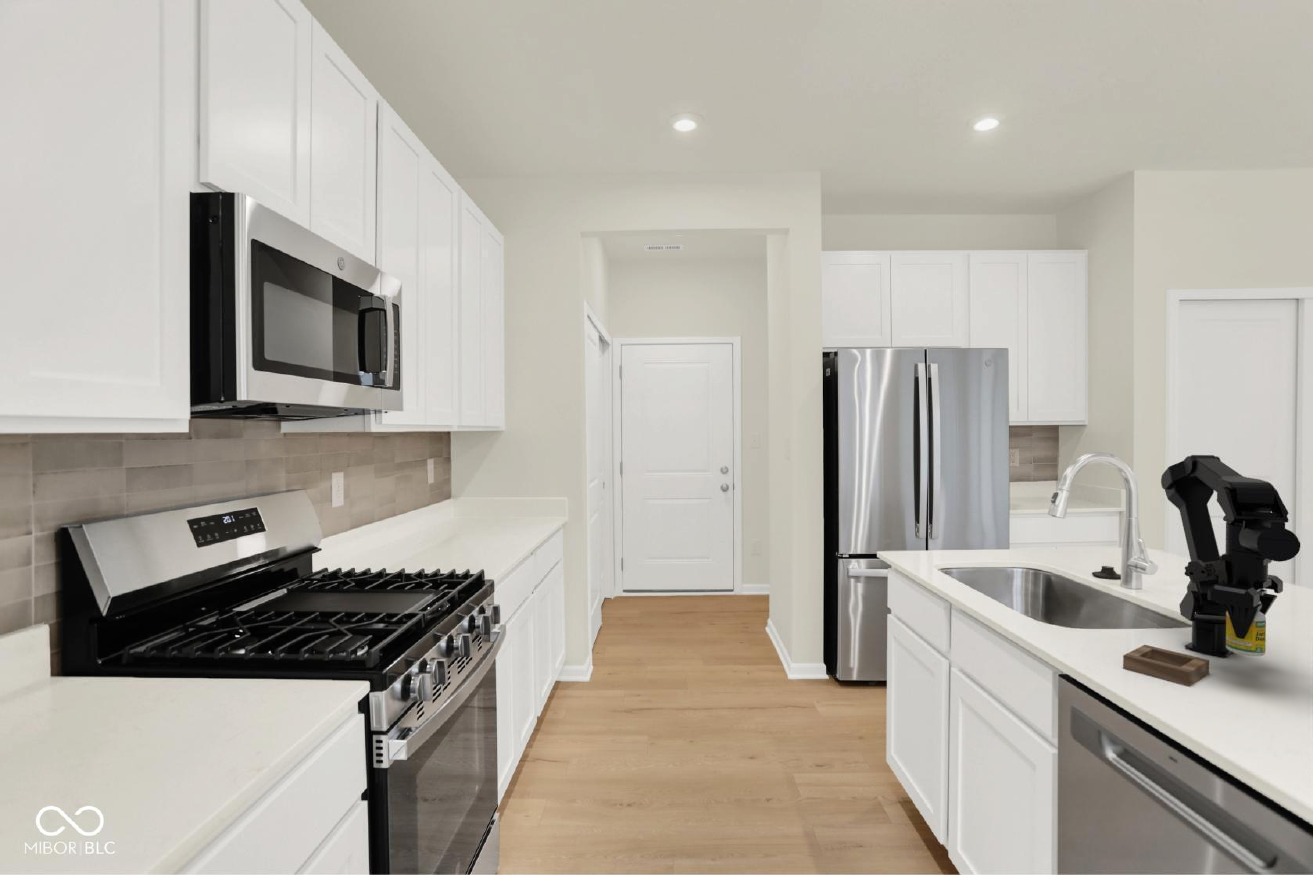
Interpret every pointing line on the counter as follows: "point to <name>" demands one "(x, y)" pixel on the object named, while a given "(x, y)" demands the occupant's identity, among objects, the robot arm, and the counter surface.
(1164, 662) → the socket block
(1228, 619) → the supplement bottle
